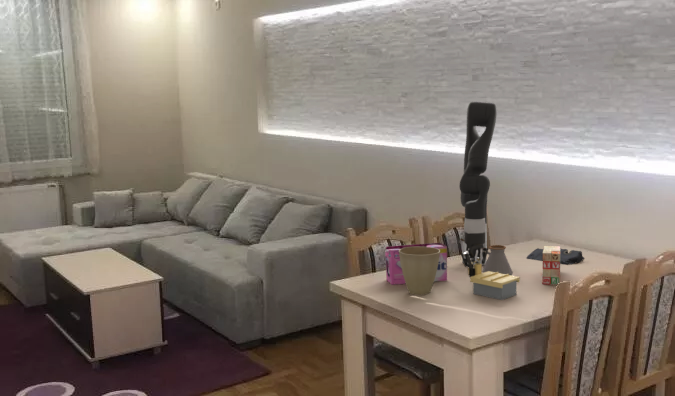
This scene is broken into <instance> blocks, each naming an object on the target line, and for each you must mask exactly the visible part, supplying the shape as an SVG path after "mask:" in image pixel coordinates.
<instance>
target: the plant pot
mask: <svg viewBox="0 0 675 396" xmlns="http://www.w3.org/2000/svg"><path fill="white" fill-rule="evenodd" d="M399 256H400V262H401V267H402V272H403V276H404V279H405V282H406V284H405V285H406V288H407V291H408V293H409V294H410V295H411V294H412V295H415V296H416V295H421V296H423V295H428V294H430V293H431V291H432V288H433V285H434V282H435V281H434V279H435V276H436V272H437V268H438V263H439V257H440V250H439V249H437V248H432V247H420V246H417V247H405V248H402V249H400V250H399Z"/></svg>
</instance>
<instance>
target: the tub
mask: <svg viewBox="0 0 675 396" xmlns="http://www.w3.org/2000/svg"><path fill="white" fill-rule="evenodd" d="M517 283H518V282H517V280H516V281H513V282H510V283H508V284H505V285H503V288H497V287H493V286H488V285H483V284H478V283H473V282H472V284H473V286H472V287H473V288H472V289H473V290H472V293H473V295H477V296H483V297H487V298H491V299H495V300H501V301H503V300H506V299H508V298H510V297H511V298H512V297H513V296H516V295H517V288H518V287H517Z"/></svg>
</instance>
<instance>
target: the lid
mask: <svg viewBox="0 0 675 396" xmlns="http://www.w3.org/2000/svg"><path fill="white" fill-rule="evenodd" d="M472 264H473V262H472ZM482 266H483V265H482V264H479V263H476V264H475V276H472V277H469V278H470V279H469V281H470V283H472V284H473V283H478V284H483V285H488V286H493V287H497V288H503V285H505V284H508V283H510V282H513V281H516V280H517V283H520V282H521V281H520V280H521V279H520V276H516V275H512V276H511V275H509V274H501V273H499V272H490V271H487V272H484V273H482V271H483V269H482ZM467 268H468V273H467V274H468V276H469V267H467Z"/></svg>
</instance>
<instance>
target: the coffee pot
mask: <svg viewBox="0 0 675 396" xmlns="http://www.w3.org/2000/svg"><path fill="white" fill-rule="evenodd" d="M463 241H464V238H460V239H459V240H458V244H460V243H461V242H463ZM464 243H465V242H464ZM488 249H490V251H488V252H487V255H488V258H487V261H486V264H485V265H483V269H482V273H484V272H487V271H490V272H499V273H501V274H509V275H511V276H513V273H514V271H513V270H512V267H511V265H510V262H509V261H508V259H507V256H506V253H505V250H506V249H507V247H506V246H505V245H502V244H492V245H490V246H488Z"/></svg>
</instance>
